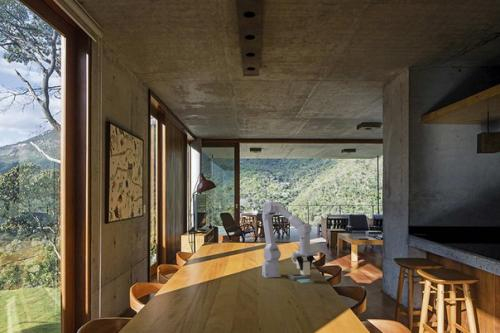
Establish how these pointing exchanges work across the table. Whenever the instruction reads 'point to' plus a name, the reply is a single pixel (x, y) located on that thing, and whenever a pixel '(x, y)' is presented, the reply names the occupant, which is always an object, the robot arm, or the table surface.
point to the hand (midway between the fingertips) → (305, 269)
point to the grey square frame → (296, 276)
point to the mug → (297, 261)
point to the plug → (305, 268)
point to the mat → (305, 281)
